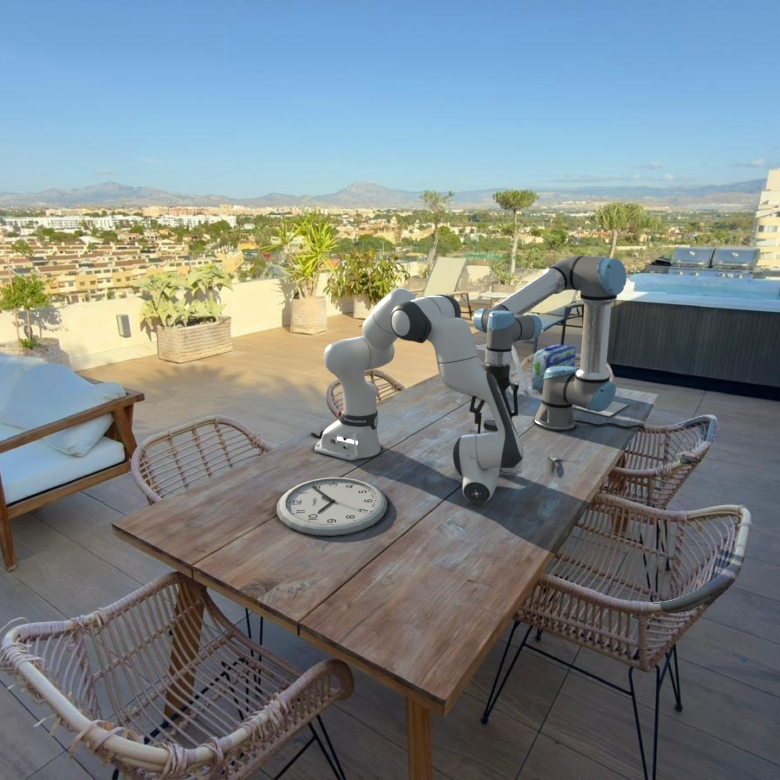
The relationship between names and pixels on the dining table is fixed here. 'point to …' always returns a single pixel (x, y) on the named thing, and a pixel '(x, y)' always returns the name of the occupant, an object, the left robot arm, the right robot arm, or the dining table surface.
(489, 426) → the lid
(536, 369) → the lunch box
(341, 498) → the wall clock
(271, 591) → the dining table surface
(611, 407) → the invitation card
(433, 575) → the dining table surface
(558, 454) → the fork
